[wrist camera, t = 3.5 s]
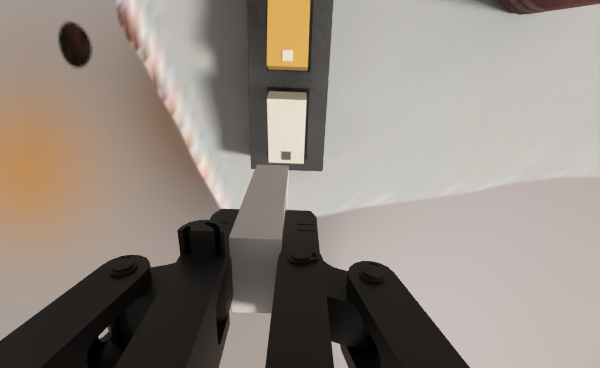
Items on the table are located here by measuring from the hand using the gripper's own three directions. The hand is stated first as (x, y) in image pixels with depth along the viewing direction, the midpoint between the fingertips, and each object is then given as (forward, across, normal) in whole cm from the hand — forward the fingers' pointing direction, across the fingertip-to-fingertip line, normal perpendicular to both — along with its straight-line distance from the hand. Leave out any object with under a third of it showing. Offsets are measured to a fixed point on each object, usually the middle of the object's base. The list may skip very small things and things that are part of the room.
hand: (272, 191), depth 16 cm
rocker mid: (+14, 0, +8) cm, 16 cm away
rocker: (+14, 0, 0) cm, 14 cm away
